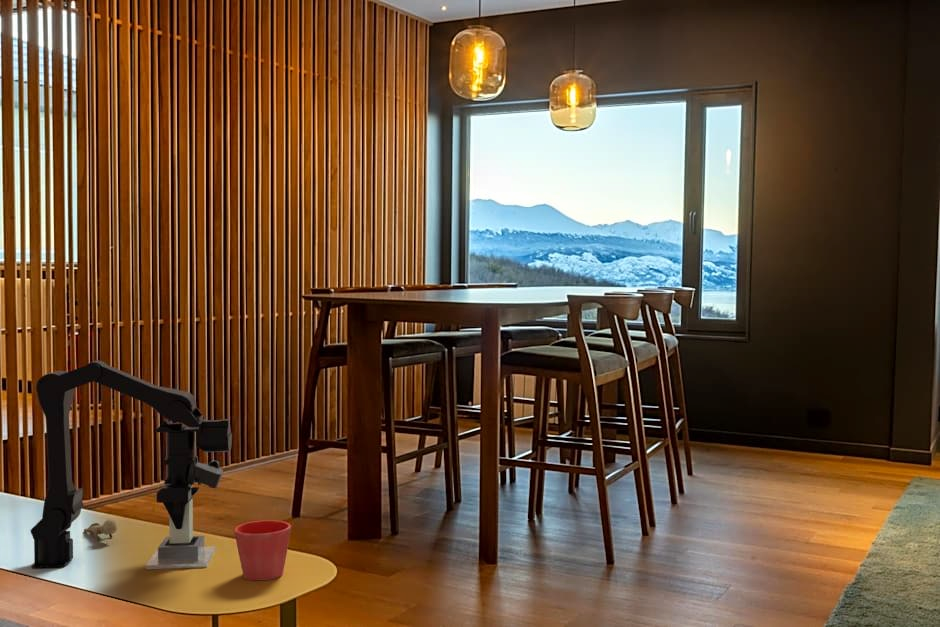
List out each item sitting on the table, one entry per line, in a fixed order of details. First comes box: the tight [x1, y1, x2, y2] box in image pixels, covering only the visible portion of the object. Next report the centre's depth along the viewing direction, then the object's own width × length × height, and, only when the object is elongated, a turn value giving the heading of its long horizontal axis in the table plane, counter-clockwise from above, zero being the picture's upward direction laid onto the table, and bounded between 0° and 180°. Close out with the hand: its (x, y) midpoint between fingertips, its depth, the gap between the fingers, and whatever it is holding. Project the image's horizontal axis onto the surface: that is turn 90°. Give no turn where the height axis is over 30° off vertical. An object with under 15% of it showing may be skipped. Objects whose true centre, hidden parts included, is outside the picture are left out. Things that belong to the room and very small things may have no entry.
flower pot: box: [234, 519, 292, 581], centre depth 185 cm, size 11×11×10 cm
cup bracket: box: [145, 535, 217, 570], centre depth 195 cm, size 12×12×4 cm
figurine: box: [83, 518, 118, 542], centre depth 211 cm, size 4×4×15 cm
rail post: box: [168, 497, 194, 543], centre depth 195 cm, size 4×4×9 cm
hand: (181, 526), depth 195 cm, fingers closed on rail post, 4 cm apart
